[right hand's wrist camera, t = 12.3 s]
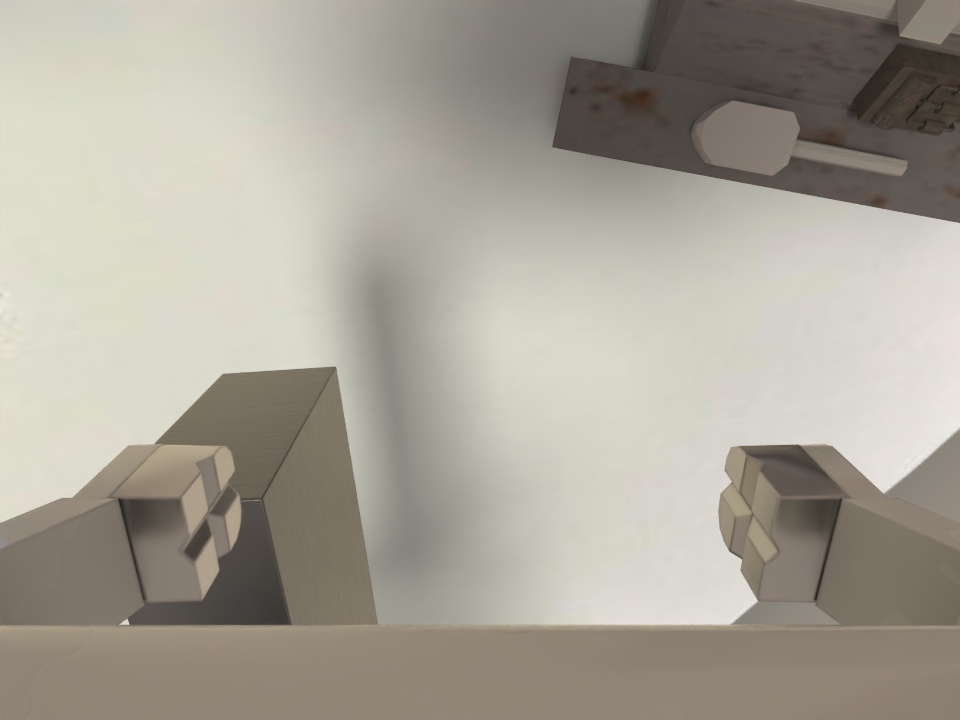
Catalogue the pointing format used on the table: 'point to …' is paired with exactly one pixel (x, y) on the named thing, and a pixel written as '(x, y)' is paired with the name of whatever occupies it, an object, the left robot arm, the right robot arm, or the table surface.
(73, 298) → the table surface
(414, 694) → the right robot arm
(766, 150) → the toy
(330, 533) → the bar
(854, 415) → the table surface
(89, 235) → the table surface
